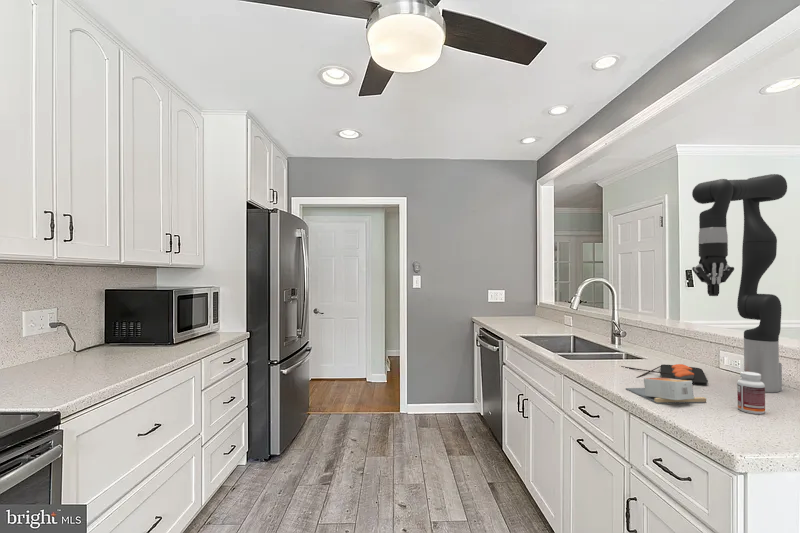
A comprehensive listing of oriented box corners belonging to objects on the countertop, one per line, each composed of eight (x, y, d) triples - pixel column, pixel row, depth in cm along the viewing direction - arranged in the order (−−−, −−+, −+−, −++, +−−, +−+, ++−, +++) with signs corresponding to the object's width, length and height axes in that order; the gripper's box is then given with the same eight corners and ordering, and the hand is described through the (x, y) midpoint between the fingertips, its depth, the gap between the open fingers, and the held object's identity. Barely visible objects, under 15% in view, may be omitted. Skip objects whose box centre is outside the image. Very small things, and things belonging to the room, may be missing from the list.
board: (669, 388, 145) (669, 384, 145) (706, 402, 129) (706, 398, 129) (625, 389, 144) (625, 385, 144) (657, 403, 128) (657, 399, 128)
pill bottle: (771, 413, 119) (770, 375, 119) (754, 415, 117) (753, 376, 118) (748, 407, 125) (748, 370, 125) (732, 408, 124) (731, 371, 124)
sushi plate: (709, 388, 147) (709, 377, 147) (614, 377, 163) (614, 367, 163) (701, 372, 172) (701, 363, 172) (620, 363, 188) (619, 355, 188)
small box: (675, 381, 124) (643, 378, 134) (677, 400, 124) (644, 396, 133) (692, 380, 127) (660, 377, 137) (694, 399, 126) (662, 394, 136)
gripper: (722, 243, 138) (723, 295, 138) (684, 243, 137) (685, 295, 137) (742, 241, 131) (743, 296, 130) (702, 241, 130) (703, 296, 130)
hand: (713, 295), depth 134 cm, fingers closed
